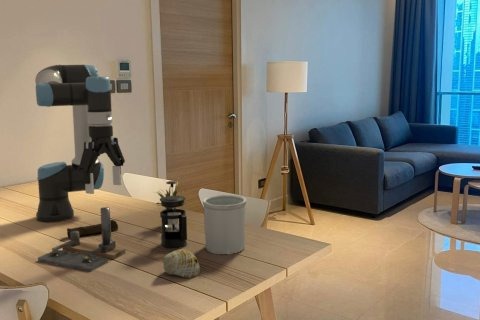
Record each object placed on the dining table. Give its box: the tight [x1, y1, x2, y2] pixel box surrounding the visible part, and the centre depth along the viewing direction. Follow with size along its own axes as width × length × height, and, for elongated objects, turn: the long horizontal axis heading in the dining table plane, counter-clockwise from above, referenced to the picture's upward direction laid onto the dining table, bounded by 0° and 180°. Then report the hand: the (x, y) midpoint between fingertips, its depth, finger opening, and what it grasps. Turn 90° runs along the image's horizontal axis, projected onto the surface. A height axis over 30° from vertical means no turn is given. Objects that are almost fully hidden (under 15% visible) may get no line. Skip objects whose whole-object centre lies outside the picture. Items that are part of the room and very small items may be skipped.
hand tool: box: [66, 219, 119, 240], centre depth 185 cm, size 19×4×5 cm, turn 118°
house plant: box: [154, 185, 187, 224], centre depth 194 cm, size 14×14×16 cm
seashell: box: [162, 248, 201, 279], centre depth 147 cm, size 10×10×10 cm
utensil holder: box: [202, 193, 247, 255], centre depth 168 cm, size 15×15×18 cm
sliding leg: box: [84, 206, 117, 260], centre depth 159 cm, size 13×3×14 cm, turn 156°
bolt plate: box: [37, 249, 109, 272], centre depth 158 cm, size 8×22×1 cm, turn 66°
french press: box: [159, 180, 188, 250], centre depth 171 cm, size 12×9×23 cm
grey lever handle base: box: [51, 231, 126, 260], centre depth 163 cm, size 14×22×6 cm, turn 66°
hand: (104, 189), depth 161 cm, fingers open, 13 cm apart
